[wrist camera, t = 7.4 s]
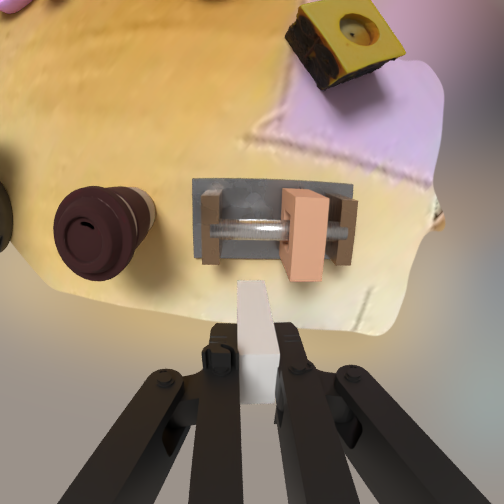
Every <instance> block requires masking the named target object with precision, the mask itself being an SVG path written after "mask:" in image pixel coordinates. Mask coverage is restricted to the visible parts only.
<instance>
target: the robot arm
mask: <svg viewBox="0 0 504 504" xmlns="http://www.w3.org/2000/svg"><path fill="white" fill-rule="evenodd" d="M12 225H13V219H12V209H11V204H10V200H9V197H8V194H7V192H6V190H5V188H4V186H3V185H2V183H1V182H0V252H2V251H3V250H4V249H5V248H6V247H7V245H8V243H9V241H10V238H11V234H12ZM202 362H203V369H202V370H201V371H200V372H198V373H196V374H193V375H189V376H182V375H181V374H180V373H179V372H177V371H175V370H172V369H160V370H157V371H155V372H153V373H152V374H151V375H150V376H149V377H148V378H147V379H146V381H145V382H144V384H143V385H142V386H141V388H140V389H139V390H138V392H137V393H136V394H135V396H134V397H133V399H132V400H131V401H130V403H129V404H128V406H127V407H126V408H125V410H124V411H123V412H122V414H121V415H120V416H119V418H118V419H117V421H116V422H115V423H114V425H113V426H112V427H111V429H110V430H109V432H108V433H107V435H106V436H105V437H104V439H103V440H102V441H101V443H100V444H99V446H98V447H97V448H96V450H95V451H94V453H93V454H92V455H91V457H90V458H89V460H88V461H87V462H86V464H85V465H84V467H83V468H82V470H81V471H80V472H79V474H78V475H77V476H76V478H75V479H74V481H73V482H72V483H71V485H70V486H69V488H68V489H67V491H66V492H65V493H64V495H63V496H62V498H61V499H60V501H59V502H58V503H57V504H154V502H155V500H156V498H157V496H158V494H159V492H160V490H161V488H162V486H163V484H164V481H165V479H166V477H167V475H168V473H169V471H170V469H171V467H172V465H173V463H174V461H175V459H176V457H177V455H178V453H179V450H180V448H181V446H182V444H183V442H184V440H185V438H186V436H187V434H188V432H189V429H190V426H191V425H196V431H195V440H194V450H193V459H192V468H191V479H190V490H189V502H188V504H243V481H242V453H241V422H240V404H271V403H272V404H273V403H275V398H276V404H277V406H276V413H275V421H274V424H277V427H278V434H279V440H280V448H281V454H282V462H283V469H284V475H285V483H286V489H287V496H288V503H289V504H360V502H359V498H358V495H357V492H356V489H355V485H354V483H353V479H352V476H351V473H350V470H349V466H348V463H347V460H346V457H345V454H346V456H347V457H348V459H349V460H350V462H351V463H352V465H353V466H354V467H355V469H356V471H357V472H358V474H359V475H360V477H361V478H362V479H363V481H364V482H365V484H366V485H367V487H368V488H369V489H370V491H371V492H372V494H373V495H374V497H375V498H376V499H377V501H378V502H379V504H491V503H490V502H489V501H488V500H487V499H486V497H484V495H483V494H482V493H481V492H480V491H479V490H478V489H477V488H476V487H475V486H474V485H473V484H472V482H471V481H470V480H469V479H468V478H467V477H466V476H465V475H464V474H463V473H462V472H461V471H460V470H459V468H458V467H456V465H455V464H454V463H453V462H452V461H451V460H450V459H449V458H448V457H447V456H446V455H445V454H444V452H443V451H442V450H441V449H440V448H439V447H438V446H437V445H436V444H435V443H434V442H433V441H432V440H431V439H430V437H429V436H428V435H427V434H426V433H425V432H424V431H423V430H422V429H421V428H420V427H419V426H418V425H417V424H416V423H415V421H413V419H412V418H411V417H410V416H409V415H408V414H407V413H406V412H405V411H404V410H403V409H402V408H401V407H400V406H399V404H398V403H397V402H396V401H395V400H394V399H393V398H392V397H391V396H390V395H389V394H388V393H387V392H386V391H385V390H384V388H383V387H382V386H381V385H380V384H379V383H378V382H377V381H376V380H375V379H374V378H373V377H372V376H371V375H370V374H369V373H368V371H366V370H365V369H364V368H362V367H360V366H357V365H345V366H343V367H340V368H339V369H338V371H337V372H336V373H329V372H323V371H320V370H318V369H316V367H315V366H314V365H313V363H312V362H310V361H309V360H308V359H307V356H306V353H305V351H304V347H303V344H302V341H301V338H300V336H299V332H298V329H297V327H295V326H294V325H293V324H292V323H291V322H283V323H273V318H272V313H271V309H270V304H269V299H268V295H267V290H266V285H265V281H264V280H237V324H231V323H216V324H215V325H214V326H213V327H212V329H211V333H210V340H209V345H207V346H206V347H205V348H203V350H202ZM344 453H345V454H344Z"/></svg>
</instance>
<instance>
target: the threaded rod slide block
mask: <svg viewBox="0 0 504 504" xmlns="http://www.w3.org/2000/svg"><path fill="white" fill-rule="evenodd" d="M282 188H293V189H309V190H312V191H314V192H316V193H318V194H321V195H323V196H325V197H327V198H330V199H329V212H328V224H327V235H326V245H325V255H324V259H331V260H332V262H333V263H334V264H335V265H351V259H352V252H353V244H354V236H355V227H356V217H357V207H358V201H357V200H354V199H352V197H353V184H346V183H333V182H319V181H303V180H283V179H253V178H193V179H192V199H193V244H194V258H202V265H219V264H220V258H253V259H281V258H280V256H279V246H280V241H289V232H290V220H281V207H282Z"/></svg>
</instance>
